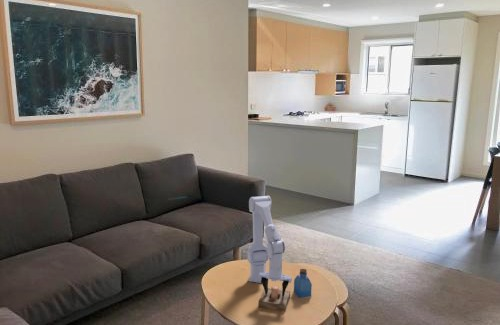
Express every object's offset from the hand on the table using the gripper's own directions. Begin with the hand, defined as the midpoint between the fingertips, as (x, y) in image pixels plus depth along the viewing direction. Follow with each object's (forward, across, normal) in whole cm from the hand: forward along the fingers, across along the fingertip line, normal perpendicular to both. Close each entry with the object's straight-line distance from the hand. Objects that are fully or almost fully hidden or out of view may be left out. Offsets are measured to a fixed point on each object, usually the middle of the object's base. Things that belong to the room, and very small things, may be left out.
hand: (274, 294), depth 180 cm
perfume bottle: (+4, +11, +11) cm, 16 cm away
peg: (+4, 0, 0) cm, 4 cm away
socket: (+4, 0, 0) cm, 4 cm away
